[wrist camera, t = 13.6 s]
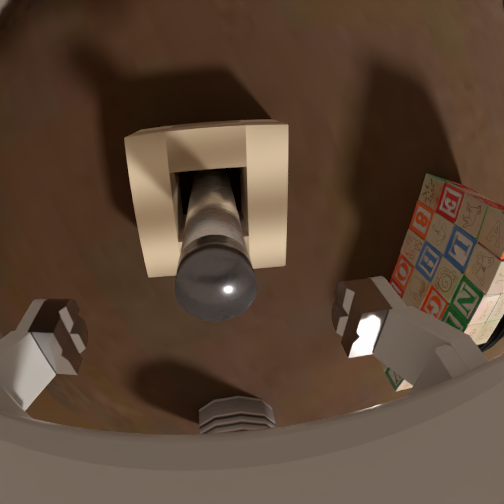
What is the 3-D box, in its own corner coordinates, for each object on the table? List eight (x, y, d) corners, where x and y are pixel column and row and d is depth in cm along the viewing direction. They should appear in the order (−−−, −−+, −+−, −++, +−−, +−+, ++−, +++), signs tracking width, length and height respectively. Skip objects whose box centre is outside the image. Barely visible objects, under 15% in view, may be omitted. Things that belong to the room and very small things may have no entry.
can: (252, 433, 44) (263, 495, 33) (187, 425, 40) (190, 493, 30) (286, 400, 39) (304, 471, 29) (211, 389, 36) (217, 471, 25)
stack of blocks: (399, 333, 36) (443, 401, 25) (362, 336, 35) (404, 413, 24) (461, 182, 26) (543, 231, 16) (424, 170, 25) (517, 222, 14)
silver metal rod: (190, 168, 22) (168, 258, 10) (230, 164, 23) (256, 250, 11) (193, 205, 24) (181, 323, 12) (231, 202, 24) (257, 317, 12)
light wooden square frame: (141, 129, 20) (124, 137, 16) (272, 119, 21) (288, 124, 17) (157, 245, 25) (148, 277, 21) (272, 235, 26) (285, 265, 22)
